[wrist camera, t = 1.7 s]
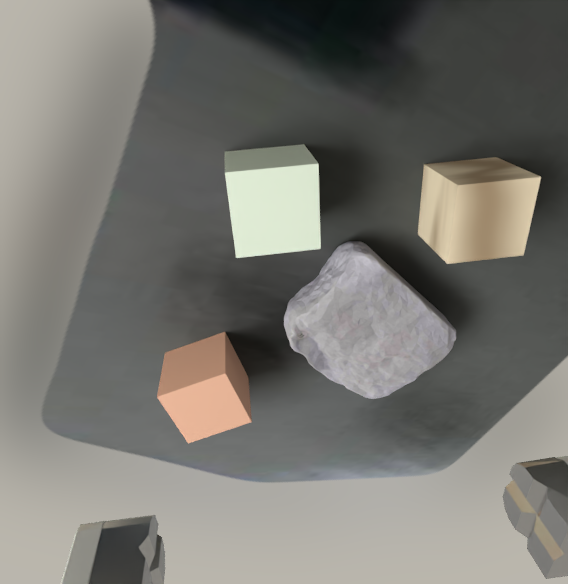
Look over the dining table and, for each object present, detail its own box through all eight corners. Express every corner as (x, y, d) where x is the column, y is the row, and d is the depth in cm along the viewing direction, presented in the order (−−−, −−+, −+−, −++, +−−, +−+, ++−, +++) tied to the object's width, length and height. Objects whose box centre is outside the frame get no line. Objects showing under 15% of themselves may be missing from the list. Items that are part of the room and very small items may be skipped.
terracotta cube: (225, 331, 34) (225, 373, 30) (248, 376, 37) (251, 421, 33) (165, 352, 35) (157, 396, 30) (192, 396, 37) (188, 443, 33)
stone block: (363, 372, 41) (457, 311, 36) (369, 415, 37) (474, 353, 32) (265, 301, 36) (357, 221, 32) (260, 342, 32) (363, 257, 28)
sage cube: (303, 144, 28) (318, 163, 24) (306, 218, 31) (320, 248, 26) (224, 151, 28) (224, 172, 23) (234, 226, 30) (236, 258, 26)
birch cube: (495, 156, 30) (541, 176, 26) (483, 226, 33) (523, 255, 28) (423, 163, 30) (457, 185, 25) (417, 233, 32) (447, 263, 28)
